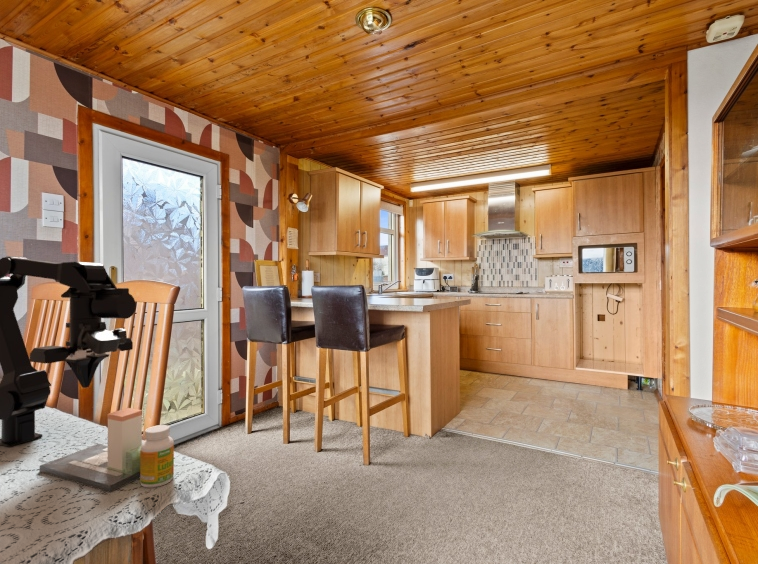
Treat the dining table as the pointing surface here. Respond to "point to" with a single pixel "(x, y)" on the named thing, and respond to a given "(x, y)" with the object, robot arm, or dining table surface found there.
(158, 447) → the supplement bottle
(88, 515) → the dining table surface
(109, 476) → the plate
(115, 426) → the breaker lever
